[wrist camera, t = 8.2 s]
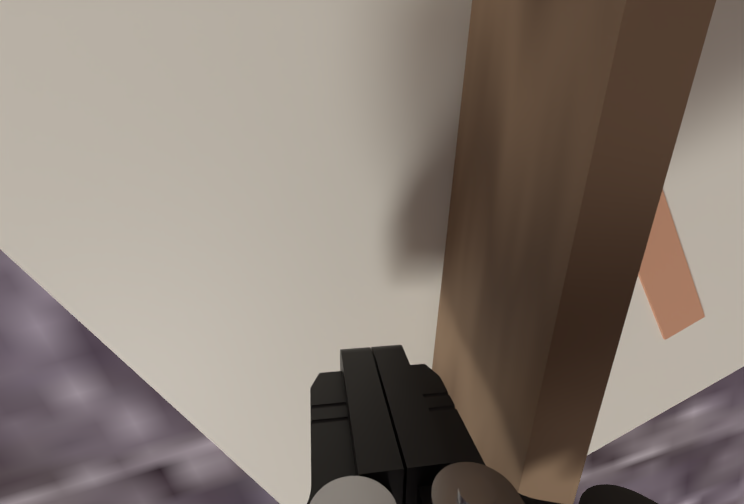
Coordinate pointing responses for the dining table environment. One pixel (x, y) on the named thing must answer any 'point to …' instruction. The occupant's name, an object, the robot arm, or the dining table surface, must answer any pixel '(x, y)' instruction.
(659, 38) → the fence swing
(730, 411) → the dining table surface
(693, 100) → the card
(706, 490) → the dining table surface
